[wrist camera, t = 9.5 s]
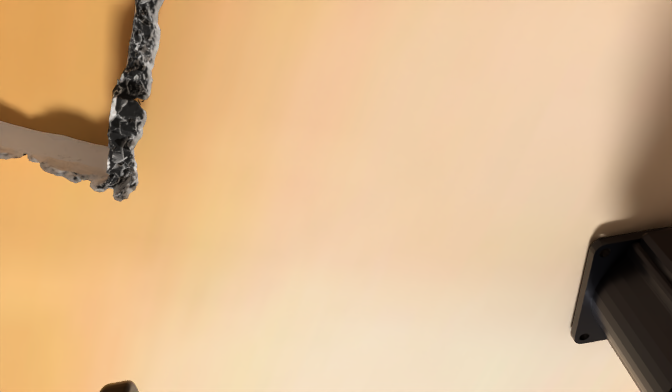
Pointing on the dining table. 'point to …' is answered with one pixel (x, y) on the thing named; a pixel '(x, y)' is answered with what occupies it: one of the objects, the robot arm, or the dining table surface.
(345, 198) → the dining table surface
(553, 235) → the dining table surface
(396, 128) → the dining table surface
